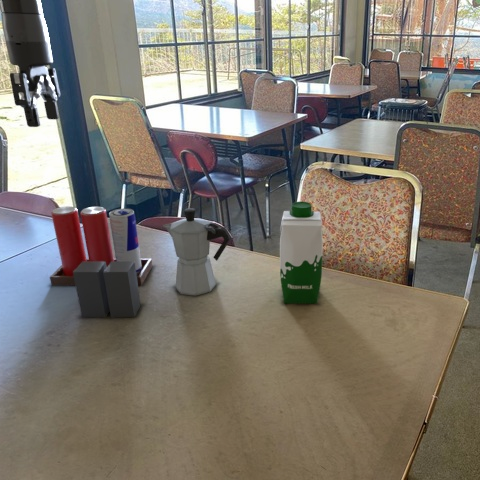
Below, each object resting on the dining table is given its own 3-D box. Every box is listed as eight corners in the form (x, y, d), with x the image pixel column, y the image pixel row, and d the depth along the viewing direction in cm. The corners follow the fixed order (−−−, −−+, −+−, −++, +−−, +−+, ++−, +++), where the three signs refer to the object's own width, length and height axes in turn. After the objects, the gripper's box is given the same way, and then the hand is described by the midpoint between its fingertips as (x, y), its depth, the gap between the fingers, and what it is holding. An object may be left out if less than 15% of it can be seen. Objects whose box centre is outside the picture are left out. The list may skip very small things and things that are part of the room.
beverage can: (146, 273, 109) (138, 211, 103) (125, 280, 106) (115, 217, 100) (135, 266, 113) (126, 205, 106) (114, 273, 109) (104, 211, 103)
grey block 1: (81, 317, 93) (72, 271, 89) (90, 305, 98) (82, 261, 94) (105, 317, 94) (97, 272, 90) (113, 305, 98) (105, 261, 94)
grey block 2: (110, 317, 94) (103, 271, 90) (118, 305, 98) (111, 261, 94) (134, 317, 94) (127, 271, 90) (140, 305, 98) (134, 261, 94)
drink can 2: (88, 278, 106) (76, 214, 100) (96, 268, 111) (85, 206, 105) (111, 278, 107) (100, 214, 101) (118, 268, 111) (108, 206, 105)
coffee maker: (159, 292, 103) (150, 213, 96) (177, 273, 111) (170, 199, 104) (225, 300, 101) (221, 220, 94) (239, 280, 109) (236, 206, 101)
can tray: (51, 285, 104) (49, 277, 103) (69, 266, 113) (67, 258, 112) (141, 285, 105) (140, 277, 105) (152, 266, 114) (151, 258, 113)
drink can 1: (60, 278, 106) (46, 213, 100) (69, 268, 111) (57, 205, 104) (83, 278, 106) (71, 214, 100) (92, 268, 111) (80, 206, 105)
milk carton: (320, 285, 108) (322, 201, 100) (321, 306, 100) (324, 216, 92) (281, 284, 108) (280, 200, 99) (279, 306, 99) (278, 216, 91)
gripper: (25, 37, 100) (41, 116, 107) (-14, 39, 87) (7, 129, 94) (62, 39, 101) (76, 117, 107) (29, 40, 88) (46, 129, 94)
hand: (44, 122), depth 101 cm, fingers open, 8 cm apart
